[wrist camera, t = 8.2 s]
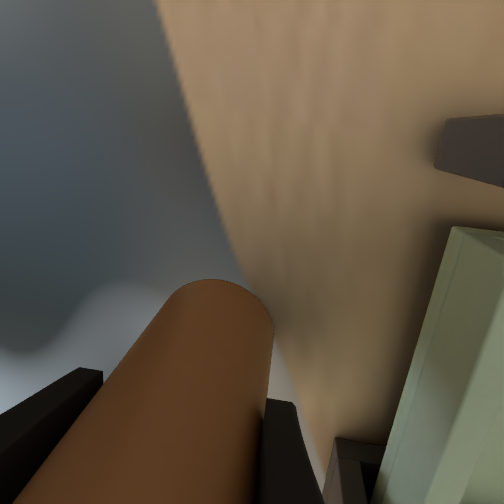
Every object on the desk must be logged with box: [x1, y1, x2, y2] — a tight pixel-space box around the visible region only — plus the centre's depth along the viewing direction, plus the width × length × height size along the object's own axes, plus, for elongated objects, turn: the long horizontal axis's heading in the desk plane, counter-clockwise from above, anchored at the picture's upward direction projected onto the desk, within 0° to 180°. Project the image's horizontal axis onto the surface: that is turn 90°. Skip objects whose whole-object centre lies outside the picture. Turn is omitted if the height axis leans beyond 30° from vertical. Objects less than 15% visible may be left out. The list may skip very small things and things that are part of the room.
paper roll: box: [12, 279, 274, 504], centre depth 8 cm, size 4×4×8 cm
